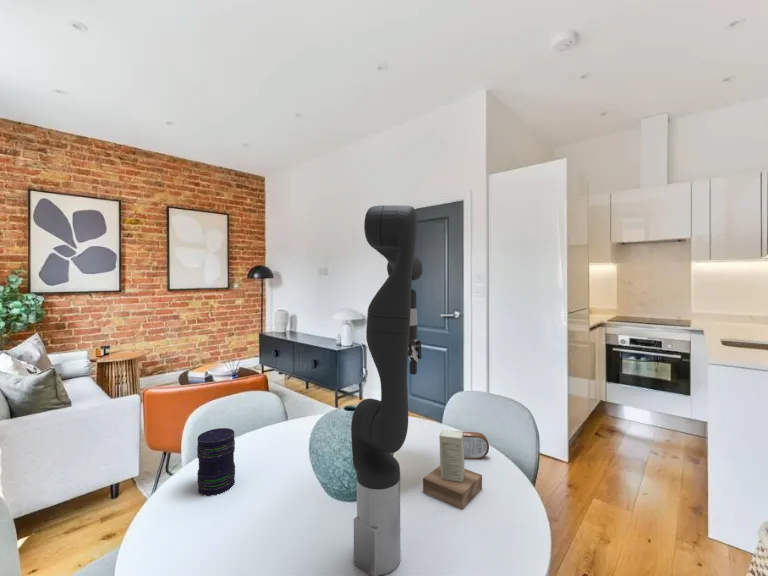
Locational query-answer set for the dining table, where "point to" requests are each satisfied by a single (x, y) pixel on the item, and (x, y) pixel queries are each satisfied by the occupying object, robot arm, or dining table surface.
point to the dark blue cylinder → (216, 461)
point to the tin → (475, 445)
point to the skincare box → (452, 455)
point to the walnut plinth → (453, 488)
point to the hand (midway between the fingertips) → (405, 376)
